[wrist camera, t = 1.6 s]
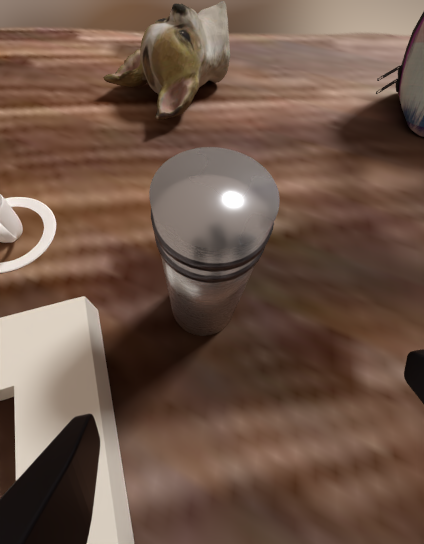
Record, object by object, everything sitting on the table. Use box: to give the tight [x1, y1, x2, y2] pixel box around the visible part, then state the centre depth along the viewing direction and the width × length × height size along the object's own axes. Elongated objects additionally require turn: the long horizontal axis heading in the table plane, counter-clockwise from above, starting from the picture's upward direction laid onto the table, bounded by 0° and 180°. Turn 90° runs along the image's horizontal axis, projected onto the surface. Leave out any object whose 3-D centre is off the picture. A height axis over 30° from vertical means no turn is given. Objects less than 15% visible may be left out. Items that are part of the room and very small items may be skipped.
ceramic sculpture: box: [103, 1, 230, 119], centre depth 31 cm, size 11×9×15 cm
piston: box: [150, 147, 279, 336], centre depth 16 cm, size 5×5×13 cm
